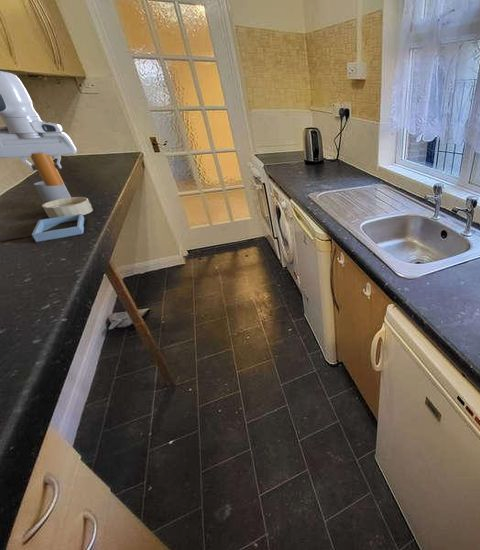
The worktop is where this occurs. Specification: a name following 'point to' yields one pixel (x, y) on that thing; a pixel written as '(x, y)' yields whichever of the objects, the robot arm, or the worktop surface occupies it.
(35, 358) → the worktop surface
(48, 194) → the cup
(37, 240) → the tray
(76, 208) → the bowl
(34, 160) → the orange capped cylinder
